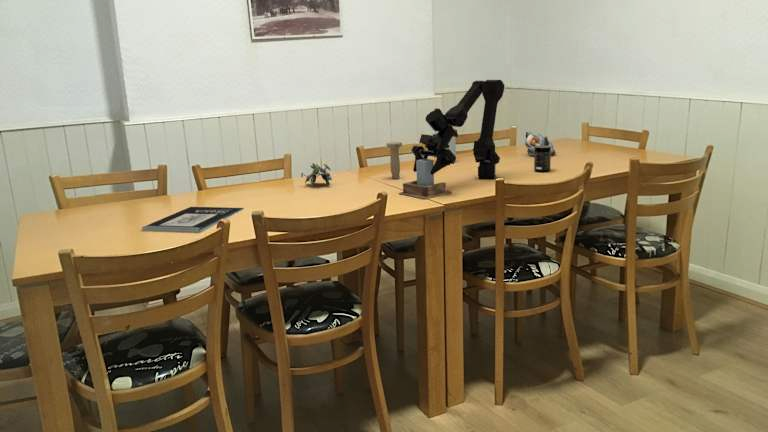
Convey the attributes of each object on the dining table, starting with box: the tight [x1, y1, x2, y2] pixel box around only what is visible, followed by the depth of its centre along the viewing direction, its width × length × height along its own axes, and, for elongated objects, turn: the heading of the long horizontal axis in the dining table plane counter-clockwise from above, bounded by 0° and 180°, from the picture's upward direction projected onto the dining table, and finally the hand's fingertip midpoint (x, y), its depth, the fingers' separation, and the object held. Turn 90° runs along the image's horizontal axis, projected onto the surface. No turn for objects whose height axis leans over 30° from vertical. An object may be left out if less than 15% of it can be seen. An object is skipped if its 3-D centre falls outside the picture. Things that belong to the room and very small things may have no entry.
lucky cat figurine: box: [524, 131, 557, 157], centre depth 304 cm, size 15×12×14 cm
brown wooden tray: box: [398, 179, 452, 201], centre depth 238 cm, size 14×14×4 cm
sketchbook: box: [141, 206, 244, 234], centre depth 216 cm, size 22×30×2 cm
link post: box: [416, 158, 435, 186], centre depth 237 cm, size 4×4×12 cm
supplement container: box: [533, 145, 552, 173], centre depth 268 cm, size 7×7×10 cm
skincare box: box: [434, 131, 457, 163], centre depth 297 cm, size 8×6×15 cm
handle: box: [386, 141, 403, 180], centre depth 266 cm, size 5×6×15 cm
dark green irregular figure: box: [300, 162, 333, 188], centre depth 261 cm, size 11×11×12 cm
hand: (422, 172), depth 236 cm, fingers open, 9 cm apart
